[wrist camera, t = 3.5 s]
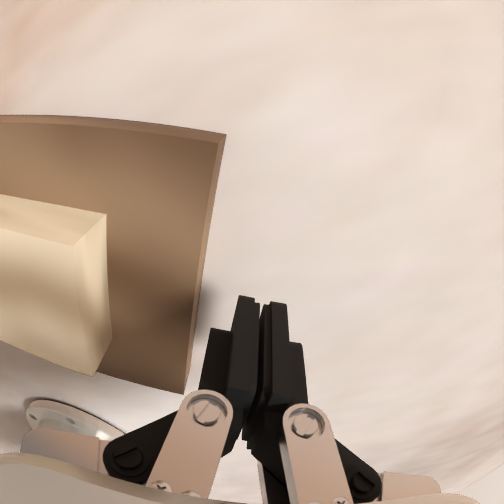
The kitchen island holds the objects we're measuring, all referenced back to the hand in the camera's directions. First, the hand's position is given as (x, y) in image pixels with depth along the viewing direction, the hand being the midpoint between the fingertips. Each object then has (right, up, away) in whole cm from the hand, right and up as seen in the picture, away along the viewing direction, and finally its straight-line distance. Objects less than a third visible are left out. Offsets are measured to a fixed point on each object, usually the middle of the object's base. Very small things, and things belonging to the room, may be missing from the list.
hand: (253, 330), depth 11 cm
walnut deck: (-8, +3, +2) cm, 9 cm away
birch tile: (-10, +2, 0) cm, 10 cm away
